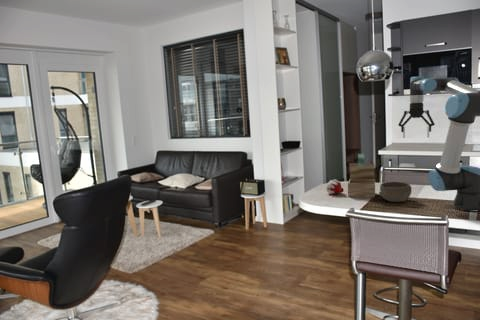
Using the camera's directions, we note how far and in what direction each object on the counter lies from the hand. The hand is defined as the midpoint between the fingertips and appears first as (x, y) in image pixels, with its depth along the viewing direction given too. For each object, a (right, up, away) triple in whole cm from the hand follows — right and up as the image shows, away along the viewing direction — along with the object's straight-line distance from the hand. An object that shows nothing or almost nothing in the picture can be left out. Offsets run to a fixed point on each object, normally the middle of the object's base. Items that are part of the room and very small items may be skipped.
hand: (415, 137), depth 241 cm
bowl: (-14, -39, -4) cm, 41 cm away
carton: (-29, -36, +13) cm, 48 cm away
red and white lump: (-45, -36, +19) cm, 61 cm away
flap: (-30, -20, +9) cm, 38 cm away
